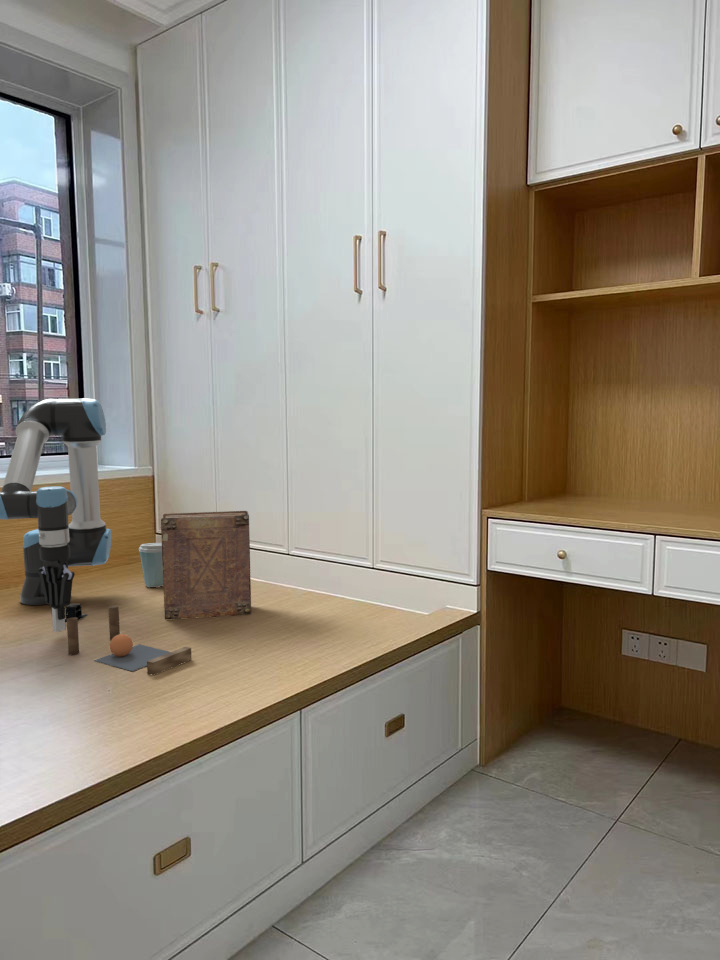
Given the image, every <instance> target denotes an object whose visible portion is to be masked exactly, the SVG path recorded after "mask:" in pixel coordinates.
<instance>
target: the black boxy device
mask: <svg viewBox="0 0 720 960" xmlns="http://www.w3.org/2000/svg"><path fill="white" fill-rule="evenodd" d="M82 610H83V609H82V603H70V605H67V606H65V618H66V619H68V618H73V617H75V618H78V621H80V620H82V619H84V617H86V616H88V613H86V614H84V613H83V611H82ZM66 619H65V623H67V620H66Z"/></svg>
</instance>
